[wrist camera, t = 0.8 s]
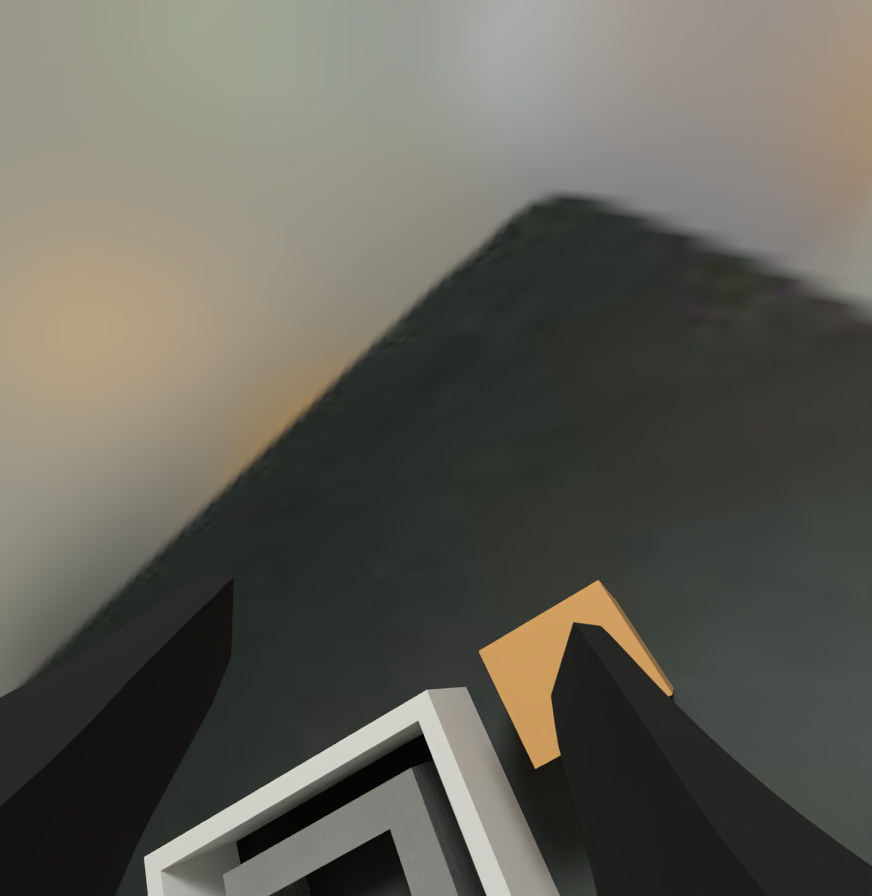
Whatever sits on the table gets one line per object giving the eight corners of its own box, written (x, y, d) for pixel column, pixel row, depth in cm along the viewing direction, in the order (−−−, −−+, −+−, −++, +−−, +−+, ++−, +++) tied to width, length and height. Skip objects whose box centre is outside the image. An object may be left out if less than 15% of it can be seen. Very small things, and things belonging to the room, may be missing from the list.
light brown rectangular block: (673, 688, 21) (672, 694, 16) (568, 746, 22) (535, 769, 17) (615, 599, 23) (598, 580, 18) (520, 655, 24) (478, 651, 19)
